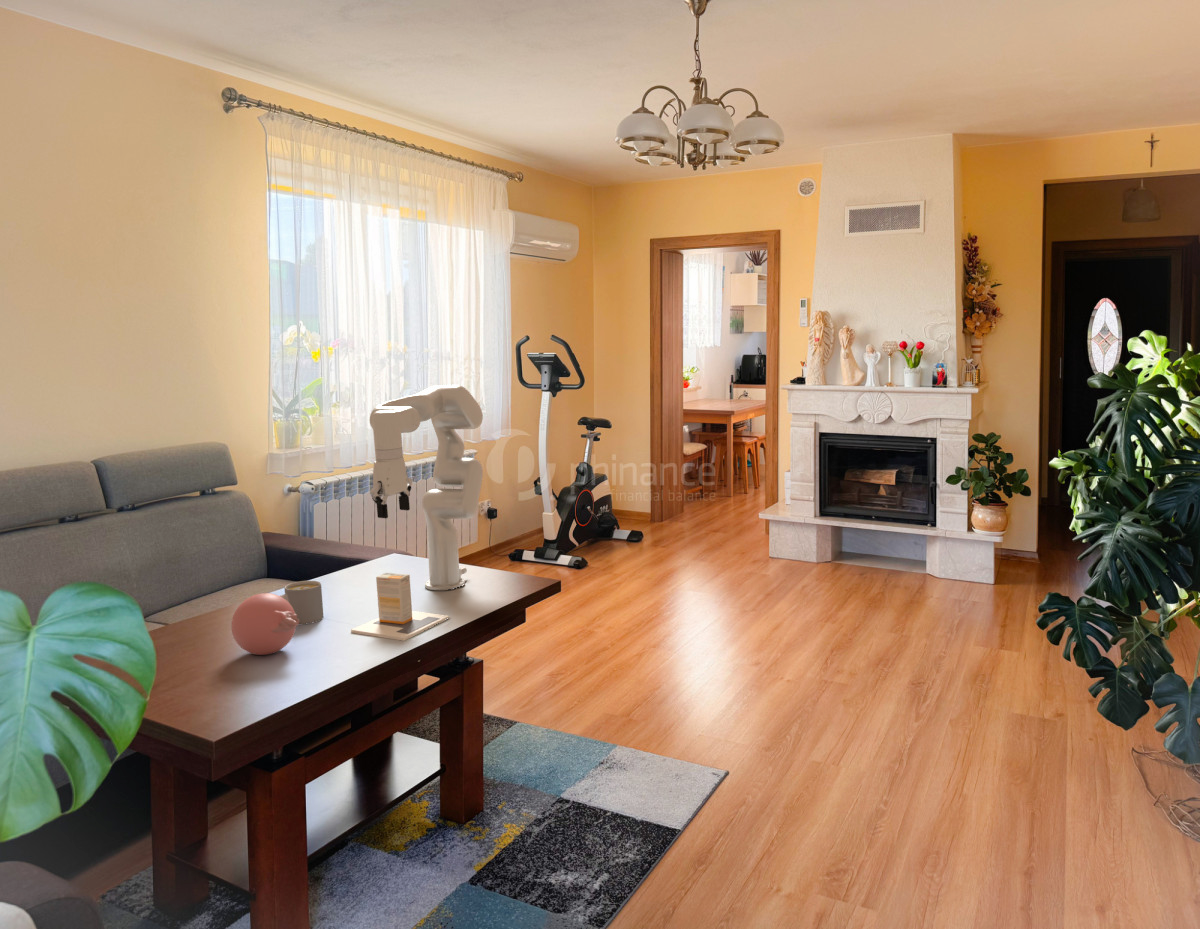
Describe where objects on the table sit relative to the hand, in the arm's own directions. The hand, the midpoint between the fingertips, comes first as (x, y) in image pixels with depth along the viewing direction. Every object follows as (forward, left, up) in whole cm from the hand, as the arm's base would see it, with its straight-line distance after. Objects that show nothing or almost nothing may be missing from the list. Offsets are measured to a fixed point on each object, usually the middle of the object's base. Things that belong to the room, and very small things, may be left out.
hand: (394, 513), depth 246 cm
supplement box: (+7, +5, -29) cm, 30 cm away
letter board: (+8, +7, -30) cm, 31 cm away
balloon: (+39, -9, -30) cm, 50 cm away
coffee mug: (+15, -24, -30) cm, 41 cm away
